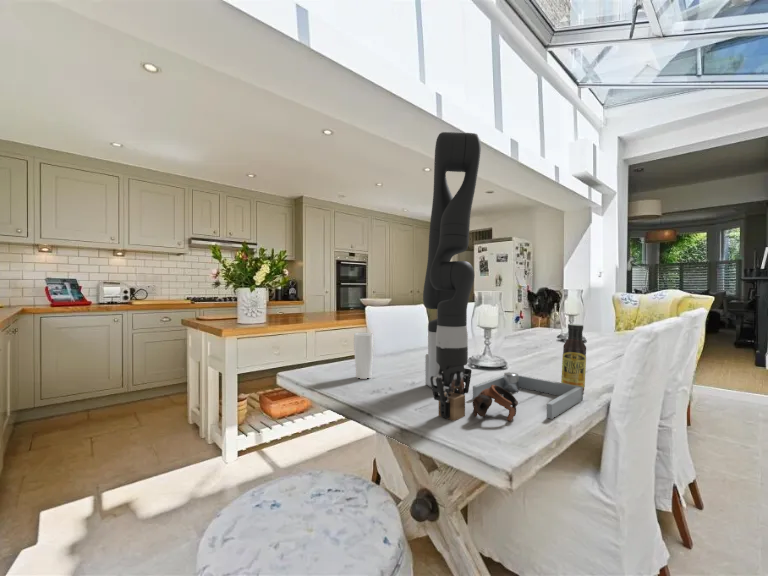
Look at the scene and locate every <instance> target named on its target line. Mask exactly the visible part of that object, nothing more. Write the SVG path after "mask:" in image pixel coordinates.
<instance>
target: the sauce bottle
mask: <svg viewBox="0 0 768 576" xmlns="http://www.w3.org/2000/svg"><path fill="white" fill-rule="evenodd" d="M567 330H568V331H567V332H568V335H567V339H566V341H565V343H564V344H563V346H562V347H563V350H562V351H563V352H562V360H561V362H562V363H561V382H560V383H565V384H570V385H575V386H581V387H583V393H584V392H585V387H586V370H587V369H586V368H587V346H586V344H585V343H584V341H583V331H584V325H583V324H577V323H568V325H567Z"/></svg>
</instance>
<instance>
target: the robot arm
mask: <svg viewBox="0 0 768 576" xmlns="http://www.w3.org/2000/svg"><path fill="white" fill-rule="evenodd" d="M481 151H482V145H481V137H480V135H479V134H478V133H475V132H474V133H472V132H452V131H448V132H447V131H445V132H444V131H442V132H440V133H439V134H438V135H437V138H436V141H435V147H434V164H433V165H434V168H433V169H434V171H433V194H432V195H433V197H432V206H431V214H430V222H429V233H428V234H429V236H428V251H427V253H428V254H427V262H426V263H427V264H426V270H425V271H426V272H425V278H424V284H423V290H422V291H423V293H422V301H423V305H424V307H425V308H426V309H428V310H429V309H430V310H436V318H435V319H432V320H430V321H429V322H428V323H427V354H425V357H424V358H425V359H424V360H425V362H424V365H425V370H424V371H425V376H424V377H425V382H424V383H425V386H428V387H429V388H430V389H431V390H432V395H433V399H434V400H435V401H438V402H439V401H440V410H441V411H440V413H441V416H442V418H444V419H447V418H450V397H451V393H453V392H454V393H458V394H462V395H465V394H468V393H469V391H470V384H471V377H472V369H471V368H466V367H465V366H466V365H467V364H468V362H469V361H468V360H469V359H468V355H469V352H468V351H469V349H468V347H469V346H468V344H469V343H468V342H469V336H468V327H467V324H468V323H467V319H468V317H467V316H468V315H467V312H468V305H469V301H470V300H469V299H470V295H471V291H472V289H473V285H474V281H475V271H474V267H473V265H472V264H471V263H470V262H468V261H466V260H455V261H451V260H452V259H453V257H455V255H459V254H461V253H464V252H466V251H467V250H468V248H469V241H470V227H471V226H470V225H471V223H470V222H471V213H472V206H473V201H474V196H475V192H476V191H475V189H476V185H477V181H478V180H477V178H478V173H479V166H480V159H481ZM447 172H452V173H453V172H454V173H455V172H457V173H464V177H463V181H462V182H461V185H460V186H459V189H458V191H457V192H456V193H455V194H454V196H453V195H452V191H451V189H450V187H449V184H448V180H447V176H446V175H447V174H446V173H447ZM444 393H446V397H445V394H444ZM441 416H440V417H441Z"/></svg>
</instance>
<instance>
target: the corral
mask: <svg viewBox="0 0 768 576" xmlns="http://www.w3.org/2000/svg"><path fill="white" fill-rule="evenodd" d="M491 385H497V386H499V387H502V388H503V389H504V374H503V375H501V376H500V375H499V376H498V377H495V378H492V379H489V380H487V381H483V382H482V383H478V384H475V385H472V400H474V398H475V397H477V396H478V395H479V394H480V393H481V392H482V391H483V390H485V389H488V388H490V387H491ZM520 387H521V389H525V388H526V389H525V390H529V389H531V390H530V391H534V390H536V391H535V392H539V391H541V392H540V393H543V392H544V393H543V394H548V393H549V395H552V396H557V397H555V398H554V399H552V400H550V401H548V402H547V403H546V419H548V418H550V419H549V420H553V419H555V418H556V417H558V416H559V414H560V415H561V414H563V413H564V412H566V411H567V410H569V409H570V408H572V407H574V406H575V405H576V404H578V403H580V402H581V401H583V400H584V399H583V398H584V392H583V387H581V386H575V385H570V384H565V383H561V382H557V381H555V380H554V381H553V380H547V379H542V378H538V377H537V378H536V377H532V376H527V375H522V374H518V388H520ZM554 417H555V418H554Z"/></svg>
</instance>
